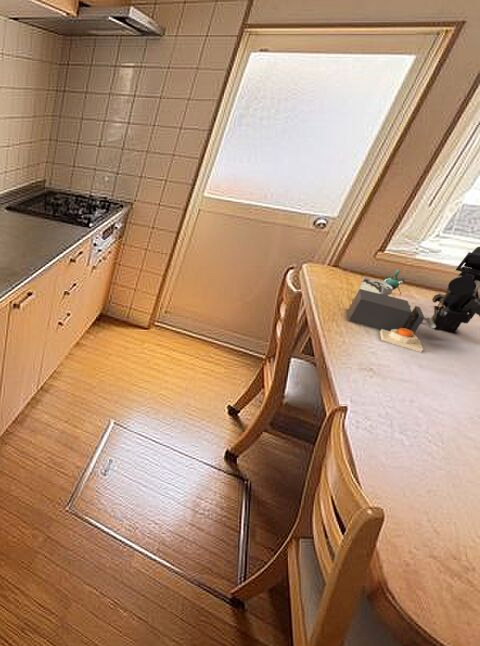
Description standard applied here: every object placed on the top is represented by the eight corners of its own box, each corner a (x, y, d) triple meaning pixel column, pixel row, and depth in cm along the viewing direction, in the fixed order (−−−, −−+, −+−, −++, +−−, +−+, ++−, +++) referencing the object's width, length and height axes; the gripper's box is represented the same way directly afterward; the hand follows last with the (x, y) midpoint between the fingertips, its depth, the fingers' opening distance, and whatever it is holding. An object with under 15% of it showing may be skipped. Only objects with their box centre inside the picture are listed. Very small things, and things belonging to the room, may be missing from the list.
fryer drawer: (424, 328, 150) (436, 311, 147) (429, 340, 142) (441, 322, 139) (364, 312, 159) (374, 295, 156) (365, 323, 151) (376, 305, 148)
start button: (410, 335, 141) (413, 330, 140) (411, 339, 139) (414, 334, 138) (396, 331, 143) (399, 326, 142) (397, 335, 141) (400, 330, 140)
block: (418, 342, 142) (423, 335, 141) (421, 352, 136) (426, 344, 135) (379, 331, 148) (384, 324, 146) (381, 340, 142) (386, 332, 140)
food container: (388, 315, 160) (402, 291, 156) (370, 312, 161) (384, 289, 157) (367, 301, 171) (380, 279, 167) (351, 299, 172) (363, 276, 168)
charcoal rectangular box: (394, 322, 155) (407, 300, 151) (397, 335, 146) (411, 312, 142) (347, 309, 162) (359, 288, 158) (348, 321, 153) (360, 299, 149)
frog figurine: (390, 296, 178) (411, 265, 170) (397, 315, 165) (420, 283, 157) (362, 289, 182) (381, 259, 174) (366, 308, 170) (387, 276, 162)
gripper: (508, 306, 126) (475, 349, 133) (491, 288, 139) (462, 328, 146) (456, 294, 132) (428, 336, 139) (445, 278, 145) (419, 317, 152)
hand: (436, 329), depth 144 cm, fingers closed
